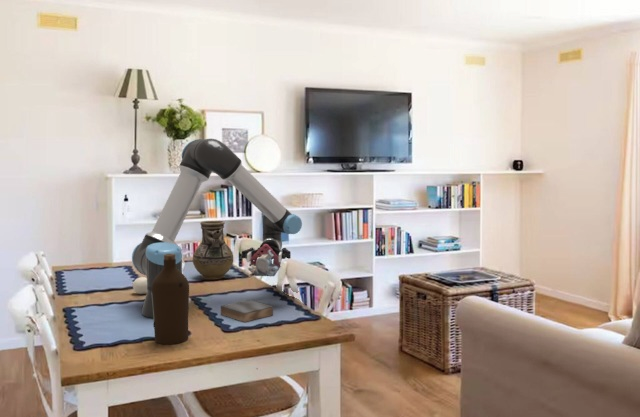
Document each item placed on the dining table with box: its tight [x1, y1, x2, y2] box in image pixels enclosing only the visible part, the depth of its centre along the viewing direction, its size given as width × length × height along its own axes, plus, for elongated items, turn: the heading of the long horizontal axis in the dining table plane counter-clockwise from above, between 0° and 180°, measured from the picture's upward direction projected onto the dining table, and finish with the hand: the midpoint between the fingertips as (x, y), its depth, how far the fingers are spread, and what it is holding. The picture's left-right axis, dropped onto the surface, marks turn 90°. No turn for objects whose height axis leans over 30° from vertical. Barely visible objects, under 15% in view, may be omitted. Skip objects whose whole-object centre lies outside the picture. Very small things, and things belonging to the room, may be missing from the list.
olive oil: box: [151, 254, 190, 345], centre depth 168 cm, size 11×11×25 cm
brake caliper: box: [248, 244, 282, 278], centre depth 206 cm, size 11×11×12 cm
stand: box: [220, 299, 274, 323], centre depth 196 cm, size 12×13×3 cm
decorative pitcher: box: [192, 220, 234, 281], centre depth 257 cm, size 22×18×25 cm
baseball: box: [132, 276, 147, 295], centre depth 227 cm, size 7×7×7 cm
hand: (263, 258), depth 203 cm, fingers closed on brake caliper, 10 cm apart
